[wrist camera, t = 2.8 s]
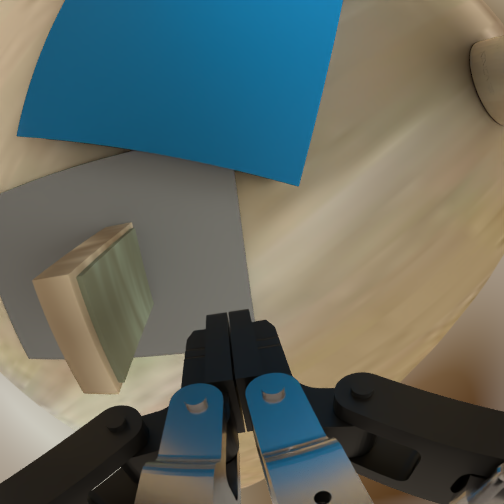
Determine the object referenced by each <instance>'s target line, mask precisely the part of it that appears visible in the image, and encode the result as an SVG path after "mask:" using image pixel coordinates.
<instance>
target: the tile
mask: <svg viewBox="0 0 504 504" xmlns="http://www.w3.org/2000/svg"><path fill="white" fill-rule="evenodd" d="M32 282H33V285H34V288H35V290H36V293H37V296H38V299H39V301H40V304H41V306H42V309H43V311H44V314H45V316H46V319H47V321H48V324H49V326H50V328H51V330H52V333H53V335H54V337H55V339H56V341H57V344H58V346H59V348H60V350H61V352H62V354H63V356H64V358H65V360H66V362H67V364H68V366H69V368H70V369H71V371H72V373H73V375H74V377H75V379H76V380H77V382H78V384H79V386H80V387H81V389H82V391H83V393H86V394H119V392H120V389H121V386H122V383H124V382H125V379H126V376H127V374H128V371H129V368H130V365H131V362H132V360H133V357H134V354H135V351H136V349H137V346H138V343H139V341H140V338H141V335H142V333H143V330H144V328H145V325H146V323H147V320H148V318H149V315H150V313H151V310H152V308H153V305H154V302H153V299H152V295H151V292H150V288H149V284H148V280H147V277H146V273H145V269H144V265H143V261H142V257H141V252H140V248H139V244H138V239H137V235H136V230H135V228H133V225H132V222H130V223H125V224H120V225H115V226H110V227H105V228H104V229H102V230H101V231H99V232H98V233H96V234H95V235H93V236H92V237H90V238H89V239H87V240H86V241H84V242H83V243H82V244H80V245H79V246H77V247H76V248H74V249H73V250H72V251H70V252H69V253H68V254H66V255H65V256H63V257H62V258H61V259H59V260H58V261H57V262H55V263H54V264H53V265H51V266H50V267H49V268H47V269H46V270H45V271H43V272H42V273H41V274H40V275H38V276H37V277H36V278H34V279H33V280H32Z"/></svg>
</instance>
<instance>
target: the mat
mask: <svg viewBox="0 0 504 504" xmlns="http://www.w3.org/2000/svg"><path fill="white" fill-rule="evenodd" d="M130 222H132V225H133V228H135V230H136V235H137V239H138V244H139V248H140V252H141V257H142V261H143V265H144V269H145V273H146V277H147V280H148V284H149V288H150V292H151V295H152V299H153V302H154V305H153V308H152V310H151V313H150V315H149V318H148V320H147V323H146V325H145V328H144V330H143V333H142V335H141V338H140V341H139V343H138V346H137V349H136V351H135V354H134V357H148V356H160V355H172V354H182V353H185V351H186V342H187V339H188V337H189V336H190V335H191V333H192V332H193V331H195V330H202V329H206V315H210V314H217V313H224V312H227V315H228V320H229V313H228V312H230V311H237V310H243V309H249V312H250V316H251V321H252V322H255V320H254V313H253V306H252V299H251V291H250V284H249V277H248V270H247V262H246V255H245V248H244V240H243V233H242V226H241V218H240V211H239V203H238V196H237V188H236V181H235V173H234V170H231V169H227V168H223V167H218V166H214V165H209V164H205V163H200V162H195V161H190V160H185V159H180V158H175V157H170V156H165V155H159V154H153V153H148V152H142V151H136V150H135V151H131V152H126V153H122V154H118V155H114V156H111V157H107V158H103V159H99V160H96V161H92V162H89V163H85V164H82V165H79V166H75V167H72V168H69V169H66V170H63V171H60V172H57V173H54V174H51V175H48V176H45V177H42V178H39V179H36V180H34V181H31V182H28V183H26V184H23V185H20V186H18V187H15V188H13V189H10V190H8V191H6V192H3V193H1V194H0V296H1V299H2V301H3V304H4V306H5V309H6V311H7V313H8V316H9V318H10V321H11V323H12V325H13V327H14V329H15V332H16V334H17V336H18V338H19V340H20V342H21V344H22V346H23V348H24V350H25V352H26V354H27V356H28V358H29V359H65V358H64V356H63V354H62V352H61V350H60V348H59V346H58V344H57V341H56V339H55V337H54V335H53V333H52V330H51V328H50V326H49V324H48V321H47V319H46V316H45V314H44V311H43V309H42V306H41V304H40V301H39V299H38V296H37V293H36V290H35V288H34V285H33V282H32V280H33V279H34V278H36V277H37V276H38V275H40V274H41V273H42V272H43V271H45V270H46V269H47V268H49V267H50V266H51V265H53V264H54V263H55V262H57V261H58V260H59V259H61V258H62V257H63V256H65V255H66V254H68V253H69V252H70V251H72V250H73V249H74V248H76V247H77V246H79V245H80V244H82V243H83V242H84V241H86V240H87V239H89V238H90V237H92V236H93V235H95V234H96V233H98V232H99V231H101V230H102V229H104V228H105V227H110V226H115V225H120V224H125V223H130ZM229 326H230V323H229Z"/></svg>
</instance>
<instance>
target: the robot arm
mask: <svg viewBox="0 0 504 504" xmlns="http://www.w3.org/2000/svg"><path fill="white" fill-rule="evenodd" d="M470 67H471V73H472V77H473V81H474V84H475V87H476V90H477V93H478V95H479V97H480V99H481V101H482V103H483V105H484V107H485V108H486V110H487V112H488V113H489V114H490V116H491V117H492V118H493V119H494V120H495V121H496V122H498V123H499V124H501V125H504V35H502V36H498V37H494V38H490V39H486V40H483V41H479V42H476V43H475V44H474V45H473V47H472V49H471V53H470ZM228 313H229V320H228V315H227V312H224V313H217V314H210V315H206V329H202V330H195V331H193V332H192V333H191V335H190V336H189V337H188V339H187V342H186V351H185V359H184V367H183V376H182V385H181V389H180V390H178V391H177V392H176V393H175V394H174V395H173V396H172V398H171V400H170V404H169V407H167V408H165V409H163V410H161V411H158V412H154V413H151V414H147V415H144V416H141V415H140V413H139V412H138V411H137V410H136V409H134V408H132V407H129V406H114V407H111V408H109V409H107V410H105V411H103V412H102V413H101V414H99V415H98V416H96V417H95V418H94V419H92V420H91V421H90V422H88V423H87V424H86V425H84V426H83V427H81V428H80V429H79V430H77V431H76V432H75V433H73V434H72V435H70V436H69V437H68V438H66V439H65V440H63V441H62V442H61V443H59V444H58V445H57V446H55V447H54V448H52V449H51V450H49V451H48V452H47V453H45V454H44V455H42V456H41V457H39V458H38V459H36V460H35V461H34V462H32V463H30V464H29V465H28V466H26V467H25V468H23V469H22V470H20V471H19V472H17V473H16V474H14V475H13V476H11V477H10V478H8V479H7V480H5V481H3V482H2V483H0V504H241V488H240V454H239V440H238V433H242V432H245V427H244V419H245V423H246V428H247V432H248V431H253V433H254V438H255V442H256V447H257V451H258V455H259V459H260V462H261V466H262V469H263V473H264V476H265V479H266V483H267V486H268V489H269V492H270V496H271V499H272V503H273V504H373V502H372V500H371V498H370V496H369V495H368V493H367V491H366V489H365V487H364V486H363V484H362V482H361V480H360V478H359V477H358V475H357V473H358V474H360V475H363V476H365V477H367V478H369V479H372V480H374V481H376V482H379V483H381V484H384V485H387V486H389V487H392V488H394V489H397V490H400V491H403V492H405V493H408V494H411V495H414V496H417V497H420V498H423V499H426V500H429V501H433V502H436V503H439V504H504V412H503V411H498V410H494V409H490V408H485V407H481V406H478V405H473V404H470V403H466V402H462V401H458V400H455V399H451V398H447V397H444V396H441V395H437V394H434V393H430V392H427V391H424V390H420V389H417V388H414V387H411V386H407V385H405V384H402V383H398V382H395V381H392V380H389V379H386V378H383V377H381V376H378V375H375V374H371V373H362V372H361V373H354V374H350V375H348V376H346V377H344V378H342V379H341V380H340V381H339V382H338V383H337V385H336V387H335V388H312V387H308V386H305V385H302V384H301V383H299V382H298V381H297V380H296V379H295V378H294V377H293V376H292V374H291V371H290V368H289V366H288V363H287V360H286V357H285V354H284V352H283V349H282V346H281V343H280V340H279V338H278V335H277V332H276V329H275V327H274V326H273V325H272V324H271V323H269V322H268V321H267V320H262V321H256V322H252V321H251V316H250V312H249V309H243V310H237V311H230V312H228ZM229 323H230V326H229ZM242 410H243V412H242ZM243 415H244V419H243ZM120 467H121V468H120ZM119 468H120V469H119ZM117 469H119V470H117ZM116 470H117V471H116ZM115 471H116V472H115ZM114 472H115V473H114ZM112 473H114V474H113V475H111V474H112ZM110 475H111V476H110ZM109 476H110V477H109ZM108 477H109V478H108ZM106 478H108V479H106ZM105 479H106V480H105ZM104 480H105V481H104ZM103 481H104V482H103ZM101 482H103V483H101ZM100 483H101V484H100ZM99 484H100V485H99ZM98 485H99V486H98ZM96 486H98V487H96ZM95 487H96V488H95ZM94 488H95V489H94ZM92 489H94V490H92Z"/></svg>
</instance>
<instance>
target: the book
mask: <svg viewBox="0 0 504 504" xmlns="http://www.w3.org/2000/svg"><path fill="white" fill-rule="evenodd" d="M342 2H343V0H65V2H64V3H63V5H62V7H61V9H60V11H59V13H58V15H57V17H56V19H55V21H54V23H53V26H52V28H51V30H50V32H49V34H48V37H47V39H46V41H45V44H44V46H43V49H42V51H41V54H40V56H39V59H38V62H37V64H36V67H35V70H34V73H33V76H32V79H31V82H30V85H29V88H28V92H27V95H26V99H25V102H24V106H23V110H22V114H21V118H20V122H19V127H18V131H17V136H18V137H32V138H45V139H52V140H62V141H71V142H80V143H88V144H96V145H103V146H110V147H117V148H123V149H130V150H136V151H142V152H148V153H153V154H159V155H165V156H170V157H175V158H180V159H185V160H190V161H195V162H200V163H205V164H209V165H214V166H218V167H223V168H227V169H231V170H236V171H240V172H244V173H248V174H252V175H256V176H260V177H264V178H268V179H272V180H276V181H280V182H283V183H287V184H291V185H295V186H299V183H300V180H301V176H302V172H303V168H304V164H305V161H306V157H307V153H308V149H309V145H310V141H311V137H312V133H313V129H314V125H315V121H316V117H317V113H318V109H319V105H320V101H321V96H322V92H323V88H324V84H325V80H326V75H327V71H328V67H329V62H330V58H331V53H332V49H333V44H334V40H335V35H336V31H337V26H338V22H339V17H340V12H341V7H342Z"/></svg>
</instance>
